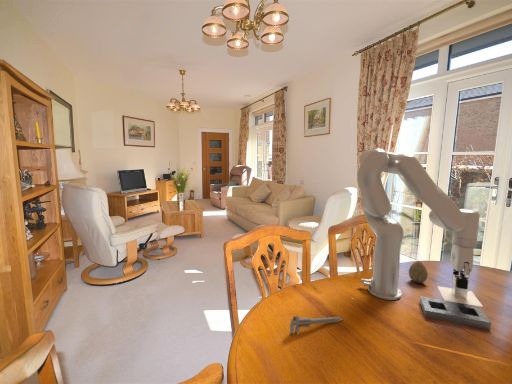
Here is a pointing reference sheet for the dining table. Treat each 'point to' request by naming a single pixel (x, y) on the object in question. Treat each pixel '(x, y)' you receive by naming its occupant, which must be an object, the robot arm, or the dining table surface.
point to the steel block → (458, 289)
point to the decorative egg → (418, 272)
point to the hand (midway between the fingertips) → (459, 284)
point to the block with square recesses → (454, 312)
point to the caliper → (310, 322)
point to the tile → (449, 297)
